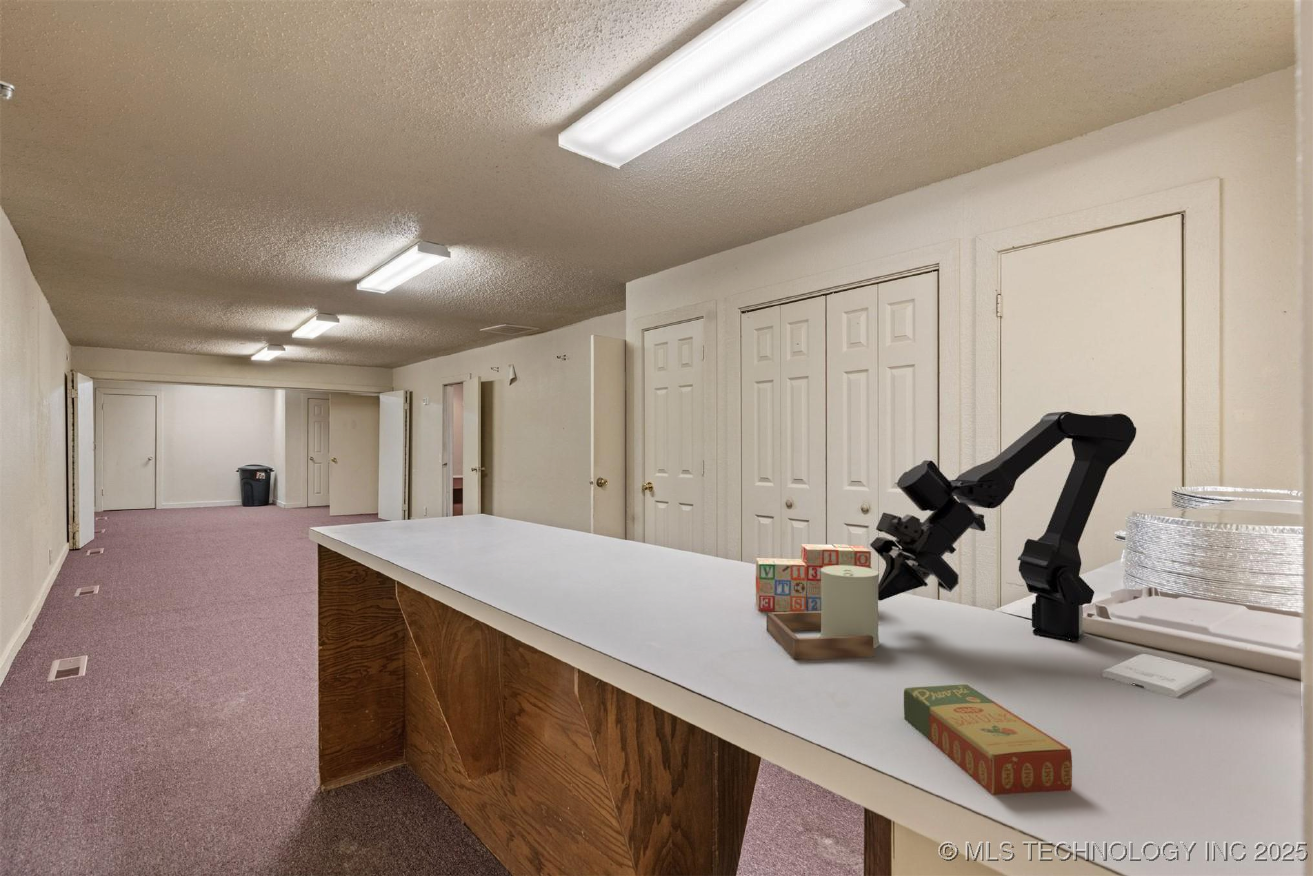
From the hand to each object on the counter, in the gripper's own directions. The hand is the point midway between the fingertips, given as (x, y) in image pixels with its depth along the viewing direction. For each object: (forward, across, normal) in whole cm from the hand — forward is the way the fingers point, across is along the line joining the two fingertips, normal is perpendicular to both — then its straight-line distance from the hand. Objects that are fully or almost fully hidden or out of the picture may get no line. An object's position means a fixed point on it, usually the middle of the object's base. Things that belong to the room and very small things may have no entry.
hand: (876, 598), depth 99 cm
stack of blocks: (+8, -20, +3) cm, 22 cm away
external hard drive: (-17, +19, +28) cm, 38 cm away
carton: (+10, +35, +1) cm, 36 cm away
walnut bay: (+12, 0, -2) cm, 12 cm away
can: (+8, 0, +2) cm, 8 cm away
